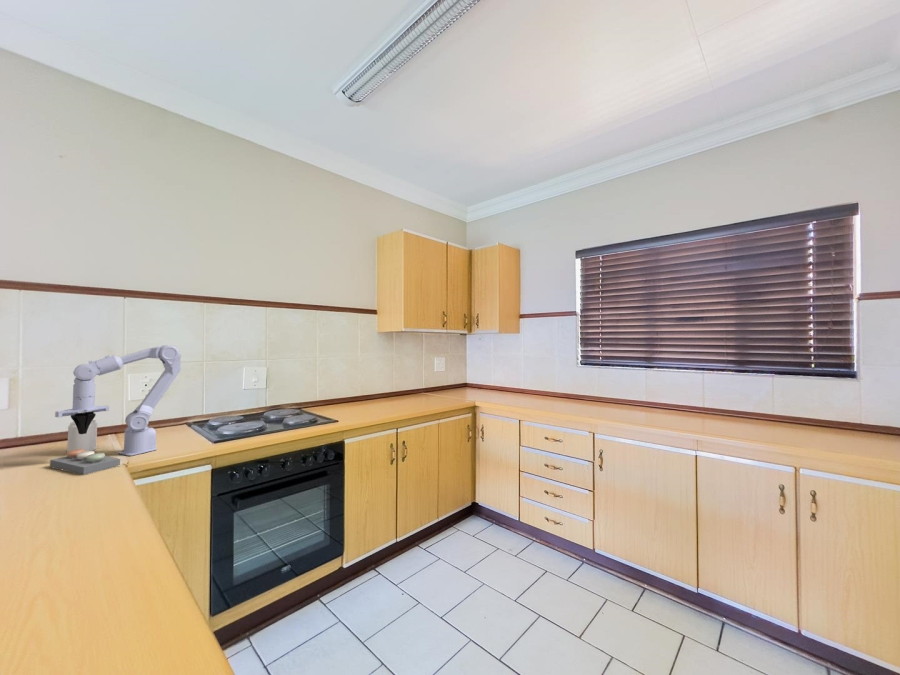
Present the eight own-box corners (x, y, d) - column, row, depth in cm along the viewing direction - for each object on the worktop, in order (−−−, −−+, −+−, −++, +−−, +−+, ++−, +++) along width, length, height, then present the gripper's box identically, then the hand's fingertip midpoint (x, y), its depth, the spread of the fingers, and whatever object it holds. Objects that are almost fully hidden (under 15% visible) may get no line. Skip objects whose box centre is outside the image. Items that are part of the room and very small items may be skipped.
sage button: (99, 464, 129) (100, 452, 129) (107, 466, 127) (107, 453, 127) (83, 468, 125) (84, 455, 125) (91, 470, 123) (91, 457, 123)
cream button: (89, 462, 131) (90, 450, 131) (96, 464, 129) (97, 451, 130) (73, 466, 127) (73, 453, 127) (80, 467, 125) (81, 455, 125)
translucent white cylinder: (77, 456, 140) (78, 424, 140) (61, 454, 141) (62, 423, 141) (101, 450, 147) (102, 420, 148) (86, 448, 149) (87, 419, 149)
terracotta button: (79, 460, 133) (80, 448, 133) (87, 461, 132) (87, 449, 132) (63, 463, 129) (64, 451, 129) (70, 465, 127) (71, 453, 128)
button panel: (49, 467, 127) (50, 459, 127) (86, 458, 136) (87, 452, 136) (83, 475, 120) (83, 467, 120) (119, 465, 129) (120, 458, 129)
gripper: (63, 399, 126) (62, 439, 126) (114, 394, 140) (113, 430, 140) (52, 398, 129) (50, 437, 129) (103, 393, 143) (102, 428, 142)
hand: (82, 433), depth 134 cm, fingers closed
